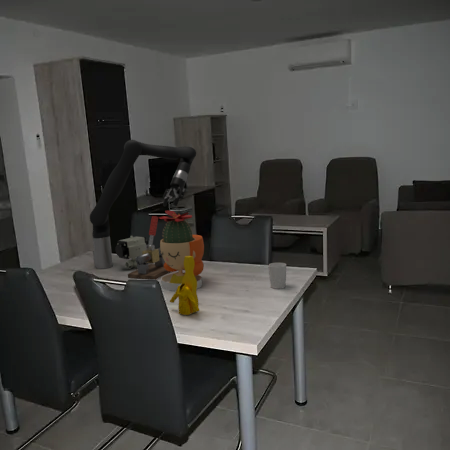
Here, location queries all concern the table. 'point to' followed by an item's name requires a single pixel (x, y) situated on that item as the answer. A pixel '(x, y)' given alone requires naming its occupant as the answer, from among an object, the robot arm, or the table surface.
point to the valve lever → (152, 230)
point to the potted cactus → (180, 250)
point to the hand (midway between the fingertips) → (169, 205)
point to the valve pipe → (149, 259)
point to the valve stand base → (150, 273)
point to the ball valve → (131, 249)
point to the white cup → (277, 275)
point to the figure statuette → (187, 290)
